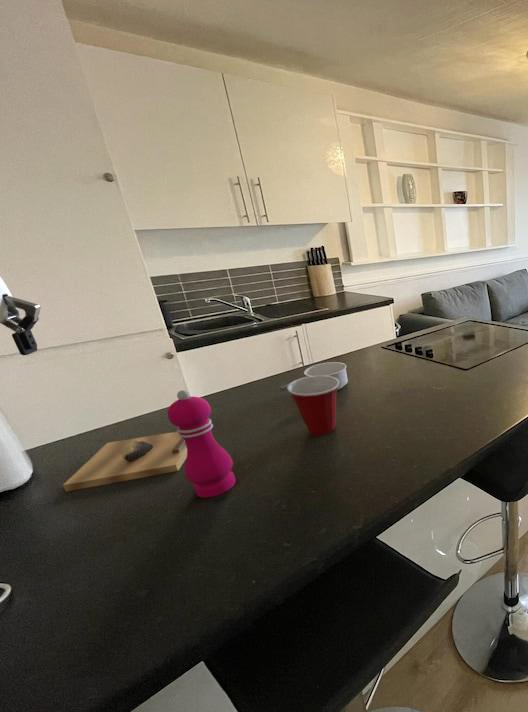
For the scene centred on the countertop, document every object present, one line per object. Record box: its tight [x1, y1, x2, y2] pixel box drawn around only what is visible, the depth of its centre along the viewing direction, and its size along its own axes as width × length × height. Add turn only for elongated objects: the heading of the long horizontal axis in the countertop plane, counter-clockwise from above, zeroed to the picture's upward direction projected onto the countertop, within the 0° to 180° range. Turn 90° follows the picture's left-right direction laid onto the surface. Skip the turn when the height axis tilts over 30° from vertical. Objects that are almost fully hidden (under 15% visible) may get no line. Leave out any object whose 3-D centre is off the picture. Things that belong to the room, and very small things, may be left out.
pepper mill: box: [167, 389, 236, 499], centre depth 73 cm, size 7×7×20 cm
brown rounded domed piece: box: [122, 441, 153, 462], centre depth 85 cm, size 6×5×3 cm
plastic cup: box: [287, 375, 340, 437], centre depth 94 cm, size 11×11×12 cm
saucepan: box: [279, 361, 349, 391], centre depth 115 cm, size 12×20×6 cm, turn 152°
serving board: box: [62, 431, 187, 493], centre depth 86 cm, size 18×16×2 cm
